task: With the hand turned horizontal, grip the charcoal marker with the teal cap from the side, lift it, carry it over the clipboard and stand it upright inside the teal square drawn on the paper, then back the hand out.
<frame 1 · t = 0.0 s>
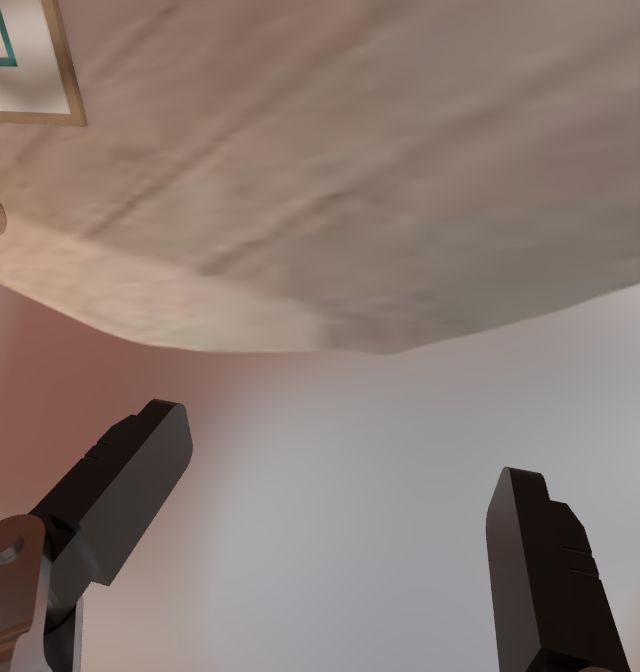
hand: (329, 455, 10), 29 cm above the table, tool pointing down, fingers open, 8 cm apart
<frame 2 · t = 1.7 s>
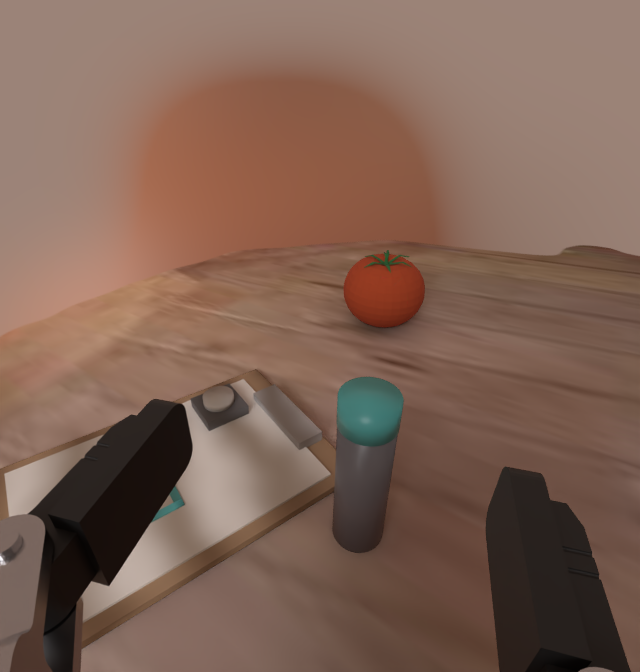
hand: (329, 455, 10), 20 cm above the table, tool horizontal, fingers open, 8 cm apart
tomato: (380, 323, 56), on the table
marker: (357, 528, 30), on the table
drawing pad: (176, 477, 34), on the table
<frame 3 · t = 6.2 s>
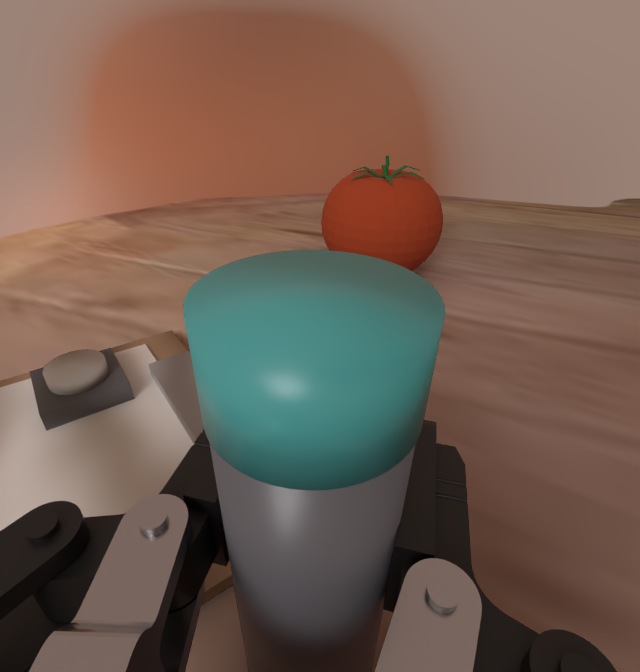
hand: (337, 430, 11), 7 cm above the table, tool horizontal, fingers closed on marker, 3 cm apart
tomato: (375, 275, 38), on the table
marker: (310, 663, 13), on the table, touching gripper
when the fingers open (9 cm above the table, at t = 11.1 s): marker drops 1 cm, resting on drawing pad.
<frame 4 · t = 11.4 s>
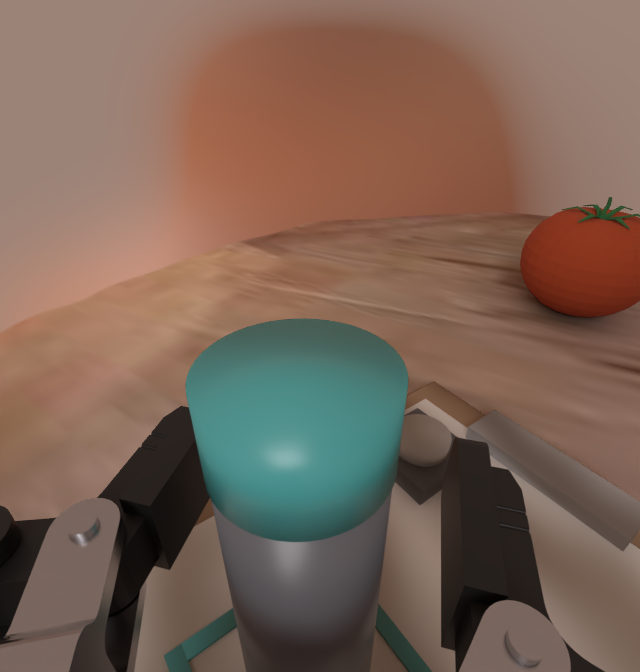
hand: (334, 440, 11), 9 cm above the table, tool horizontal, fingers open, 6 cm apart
tomato: (567, 312, 38), on the table
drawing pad: (394, 618, 16), on the table
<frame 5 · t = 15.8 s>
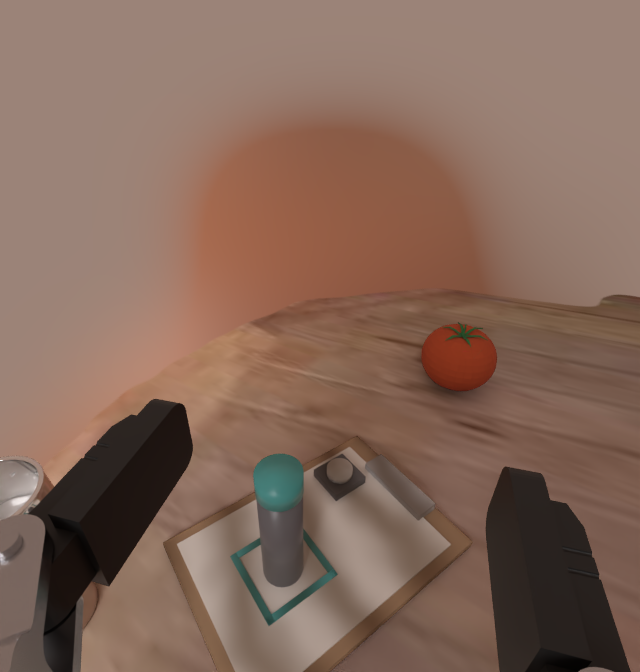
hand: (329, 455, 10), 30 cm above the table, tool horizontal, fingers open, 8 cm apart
tomato: (451, 384, 62), on the table
marker: (283, 566, 37), point 1 cm above the table, touching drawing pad
beer glass: (58, 612, 35), on the table
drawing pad: (318, 546, 40), on the table
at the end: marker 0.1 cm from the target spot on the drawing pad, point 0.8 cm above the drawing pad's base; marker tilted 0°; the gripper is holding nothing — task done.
